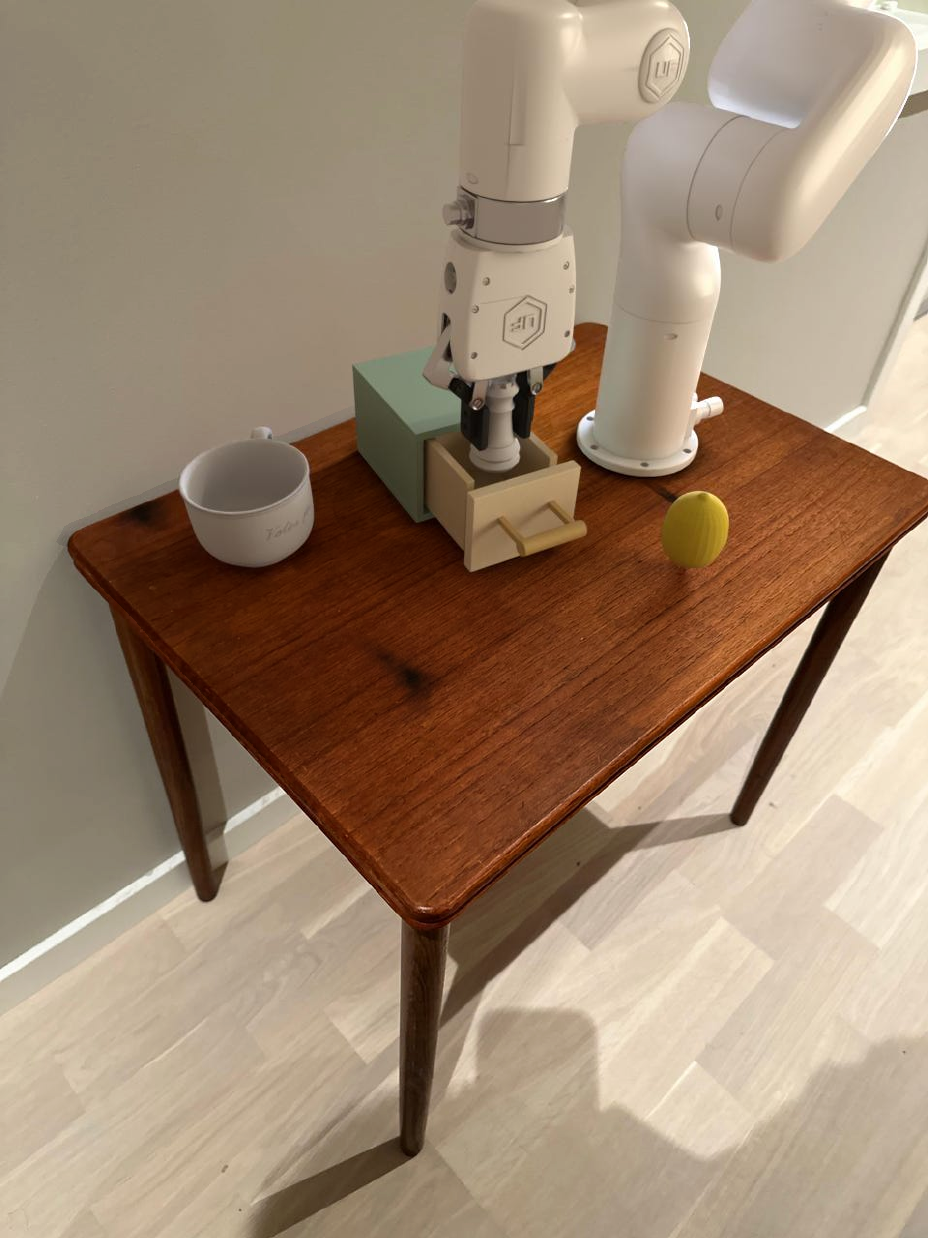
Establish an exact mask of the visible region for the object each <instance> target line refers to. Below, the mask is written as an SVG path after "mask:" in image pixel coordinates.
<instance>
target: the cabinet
mask: <svg viewBox="0 0 928 1238" xmlns="http://www.w3.org/2000/svg"><path fill="white" fill-rule="evenodd" d="M435 346H436V345H433V346H428V347H424V348H419V349H415V350H410V351H405V352H402V353H397V354H393V355H389V356H384V357H379V358H376V359H371V360H366V361H362V362H358V363H352V365H351V369H352V371H351V372H352V383H353V385H352V386H353V399H354V401H353V402H354V414H355V415H354V416H355V431H356V432H355V433H356V449H357V452H358V453H359V454H360V455H361V456H362V458H363V459H364V460H365V461H366V462H367V464H368V465H369V467H370V468H371V469H372V470H373V471H374V473H375V474H376V475H377V477H379V479H380V480H381V481H382V482H383V484H384V485H385V486H386V488H387V489H388V490H389V491H390V493H391V494H392V495H393V496H394V497H395V499H396V500H397V501H398V503H399V504H400V505H401V506H402V508H403V509H404V510H405V512H406V513H407V514H408V515H409V516H410V518H411V519H412V520H413V521H414V523H415V524H419V523H422V522H425V521H428V520H431V519H436V517H435V516H434V515H433V514H432V512H431V511H430V510H429V509H428V508H427V506H426V505H425V504H424V441H423V440H426V439H430V438H434V437H437V436H441V435H445V434H449V433H452V432H456V431H460V430H461V429H460V420H461V399H460V398H459V397H457V396H456V395H455V394H454V393H453V392H451V391H448V390H444V389H441V388H439V387H436V386H433V385H431V384H430V383H429V382H428V381H427V380H426V379H425V378H424V377H423V375H422V373H423V370H424V368H425V366H426V364H427V362H428V360H429V358H430V356H431V354H432V352H433V350H434V348H435ZM449 371H453V372H454V373H455V374H458V373H457V372H456V370H455V367H454V363H453V362H452V364H451V366H450V368H449Z"/></svg>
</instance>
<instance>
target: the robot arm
mask: <svg viewBox="0 0 928 1238" xmlns="http://www.w3.org/2000/svg"><path fill="white" fill-rule="evenodd" d="M875 3H876V0H750V2H748V4H747V5H746V7H745V8H744V10H743V11H742V13H741V14H740V15H739V16H738V18H737V19H736V21H735V22H734V23H733V25H732V27H731V28H730V29H729V31H728V32H727V34H726V35H725V37H724V38H723V39H722V42H721V43H720V44H719V46H718V48H717V50H716V52H715V54H714V56H713V58H712V61H711V63H710V66H709V70H708V74H707V79H706V81H707V82H706V83H707V84H706V86H707V87H706V88H707V92H708V97H709V100H710V102H711V104H712V105H708V104H705V103H699V102H694V101H675V102H673V101H672V102H669V101H671V99H672V98H673V97H674V95H675V94H676V93H677V91H678V90H679V88H680V86H681V84H682V82H683V79H684V78H685V75H686V72H687V69H688V64H689V60H690V52H691V42H690V41H691V40H690V34H689V30H688V26H687V22H686V21H685V18H684V17H683V15H682V13H681V12H680V11H679V9H678V8H677V6H675V5H674V4H673V3H672V2H671V1H670V0H476V1H475V2H474V3H473V4H472V5H471V7H470V8H469V10H468V11H467V14H466V17H465V20H464V24H463V38H462V65H461V66H462V67H461V100H460V101H461V103H460V106H461V107H460V108H461V109H460V135H459V137H460V138H459V141H460V142H459V170H458V171H459V173H458V175H459V176H458V185H457V186H456V200H453V201H452V203H445V204H444V205H443V207H442V219H443V223H445V225H446V226H453V225H455V226H456V227H457V228H455V229H452V230H450V233H449V238H448V241H447V246H446V250H445V255H444V259H443V263H442V264H443V265H442V270H441V277H440V283H439V293H438V305H437V317H436V318H437V319H436V344H435V345H434V346H435V348H434V350H433V352H432V354H431V356H430V358H429V360H428V362H427V364H426V366H425V368H424V370H423V373H422V375H423V377H424V378H425V379H426V380H427V381H428V382H429V383H430V384H431V385H433V386H436V387H439V388H441V389H444V390H448V391H451V392H453V393H454V394H455V395H456V396H457V397H459V398H460V399H461V420H460V429H461V433H462V435H463V436H464V437H465V438H466V439H468V440H469V441H470V442H471V443H472V444H473V445H474V447H475V448H476V449H477V450H478V451H483V450H486V448H487V447H488V435H489V419H490V410H489V408H488V407H487V406H486V405H485V404H484V402H485V397H486V391H487V386H488V381H489V380H490V379H494V378H498V377H502V376H508V375H511V374H514V377H516V378H515V382H516V383H517V384H518V386H519V391H518V393H517V394H516V395H515V396H514V397H513V401H514V403H515V407H514V409H513V410H512V424H513V431H514V432H515V433H516V434H517V435H518V436H519V437H520V438H522V439H526V438H529V437H530V432H532V423H533V421H534V413H535V407H536V406H535V404H536V395H539V394H540V393H541V392H542V391H543V389H544V382H545V381H546V379H547V378H548V377H549V376H550V374H551V373H552V372H553V370H555V369H556V367H557V365H558V363H560V362H561V361H563V360H564V359H565V358H566V357H568V356H569V355H570V354H571V353H573V352H574V351H575V349H576V347H577V342H576V340H575V338H574V328H575V317H576V298H577V297H576V295H577V267H576V265H577V263H576V252H575V242H574V241H575V240H574V233H573V232H574V231H573V230H572V228H571V227H569V226H568V225H566V224H565V219H566V211H567V210H566V209H567V200H568V199H567V198H568V192H569V182H570V175H571V167H572V166H571V165H572V155H573V147H574V138H575V131H576V129H577V128H578V127H579V126H583V125H585V126H586V125H628V124H633V123H634V124H635V123H636V125H635V126H634V127H633V129H632V131H631V133H630V135H629V136H628V139H627V140H626V144H625V147H624V150H623V153H622V157H621V164H620V166H621V167H620V173H619V174H620V175H619V197H620V243H619V253H618V263H617V269H616V275H615V276H616V277H615V283H614V289H613V294H612V300H611V301H612V302H611V307H610V313H609V320H608V327H607V332H606V338H605V345H604V352H603V359H602V364H601V365H602V366H601V371H600V377H599V384H598V391H597V397H596V403H595V408H594V409H593V410H591V411H589V412H587V413H586V414H585V415H584V416H583V417H581V419H580V421H579V422H578V425H577V428H576V429H577V430H576V443H577V446H578V448H579V449H580V451H581V452H582V453H583V454H584V455H585V456H586V457H587V458H588V459H589V460H591V461H592V462H593V463H595V464H596V465H598V466H600V467H602V468H604V469H606V470H609V471H612V472H615V473H617V474H621V475H626V476H632V477H641V478H642V477H643V478H648V477H649V478H650V477H663V476H667V475H672V474H675V473H677V472H680V471H682V470H683V469H685V468H686V467H688V466H689V465H690V464H691V463H692V462H693V461H694V459H695V458H696V455H697V452H698V446H699V439H698V436H697V434H696V432H695V431H694V428H695V427H694V426H695V425H698V424H700V422H701V420H702V419H703V420H704V419H709V418H712V417H716V416H719V415H721V414H722V413H723V411H724V402H723V400H722V398H720V397H719V396H713V397H709V398H706V399H703V400H701V401H699V402H698V398H699V397H698V394H697V392H696V391H697V386H698V382H699V379H700V374H701V370H702V366H703V362H704V357H705V354H706V349H707V346H708V342H709V337H710V334H711V329H712V326H713V321H714V317H715V313H716V310H717V306H718V303H719V299H720V293H721V285H722V284H721V283H722V269H721V261H720V256H719V250H722V251H725V252H727V253H730V254H732V255H735V256H739V257H741V258H744V259H747V260H750V261H753V262H757V263H761V264H769V265H771V264H778V263H782V262H784V261H786V260H789V259H791V258H792V257H793V256H794V255H796V254H797V253H799V252H800V251H801V249H803V247H805V245H807V244H808V242H809V241H810V240H811V238H812V237H813V236H814V235H815V234H816V232H817V231H818V230H819V228H820V227H821V226H822V224H823V223H824V222H825V221H826V219H827V218H828V216H830V214H831V212H832V211H833V210H834V208H835V207H836V205H837V204H838V203H839V202H840V200H841V199H842V197H843V196H844V195H845V193H846V192H847V191H848V189H849V188H850V186H851V185H853V182H855V180H856V178H857V177H858V176H859V175H860V173H861V172H862V171H863V169H864V168H865V166H866V165H867V164H868V163H869V161H870V160H871V158H872V157H873V156H874V154H875V153H876V151H877V150H878V149H879V147H880V146H881V144H882V143H883V141H884V140H885V138H886V137H887V135H888V134H889V132H891V129H893V126H894V124H895V123H896V121H897V120H898V117H899V116H900V114H901V112H902V110H903V108H904V105H905V104H906V101H907V99H908V97H909V95H910V91H911V88H912V84H913V82H914V78H915V75H916V71H917V65H918V44H917V41H916V38H915V35H914V33H913V31H912V29H911V28H910V27H909V25H908V24H906V23H905V22H904V21H903V20H901V19H900V18H898V17H896V16H894V15H891V14H889V13H887V12H882V11H879V10H875V9H871V8H872V7H873V5H874V4H875ZM718 249H719V250H718ZM452 362H453V363H454V367H455V370H456V372H457V373H458V374H455V373H454V372H453V371H449V368H450V366H451V364H452Z"/></svg>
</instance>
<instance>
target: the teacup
mask: <svg viewBox="0 0 928 1238" xmlns="http://www.w3.org/2000/svg"><path fill="white" fill-rule="evenodd" d="M177 488H178V492H179V495H180V497H181V499H182V500H183V502H184V505H185V509H186V512H187V515H188V518H189V520H190V521H189V522H190V524H191V526H192V529H193V531H194V534H195V536H196V538H197V540H198V542H199V543H200V545H201V546H202V548H203V549H204V550H205V551H206V552H207V553H208V554H209V555H210V556H211V557H214V559H217V560H219V561H220V562H222V563H225V564H228V565H232V566H239V567H244V568H262V567H266V566H267V567H268V566H271V565H274V564H276V563H278V562H280V561H281V562H282V561H283V560H284V559H287V558H288V557H289V556H291V555H292V554H294V553H295V552H296V551H297V550H298V549H300V548H301V547H302V546H303V545H304V544H305V542H306V541H307V540H308V538H309V536H310V534H311V532H312V529H313V526H314V521H315V508H314V507H315V506H314V498H313V492H312V491H313V490H312V484H311V478H310V465H309V462H308V459H307V458H306V456H305V454H304V453H303V452H302V451H300V450H299V449H298V448H297V447H295V446H294V445H291V444H289V443H287V442H284V441H279V440H275V438H274V434H273V432H272V430H271V429H270V428H269V427H267V426H259V427H255V428H253V429H252V430H251V433H250V438H243V439H236V440H231V441H228V442H224V443H220V444H217V445H215V446H212V447H210V448H208V449H206V450H204V451H202V452H200V453H199V454H197V455H196V456H195V457H193V458H192V459H190V461H189V462H188V463H186V465H185V466H184V467H183V468H182V470H181V472H180V474H179V476H178V481H177Z"/></svg>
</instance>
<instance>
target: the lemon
mask: <svg viewBox="0 0 928 1238" xmlns="http://www.w3.org/2000/svg"><path fill="white" fill-rule="evenodd" d="M729 524H730V521H729V514H728V510H727V508H726V506H725V504H724V503H723V502H722V500H721V499H719V498H718V497H717V496H716V495H714V494H712V493H710V492H707V491H702V490H697V491H696V490H695V491H691V492H686V493H685V494H683V495H681V496H679V497H678V498H677V499H676V500H675V501H673V503H672V504H671V505H670V507H669V508H668V509H667V512H666V514H665V517H664V519H663V521H662V525H661V530H660V531H661V532H660V540H661V546H662V549H663V552H664V554H665V556H667V558H668V559H669V560H670V561H671V562H672V563H674V564H675V565H677V566H679V567H681V568H685V569H699V568H702V567H705V566H707V565H709V564H711V563H712V562H713V561H714V560H715V559H717V557H719V555H720V553H721V552H722V551H723V549H724V547H725V545H726V543H727V540H728V536H729V535H728V534H729V527H730V525H729Z"/></svg>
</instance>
